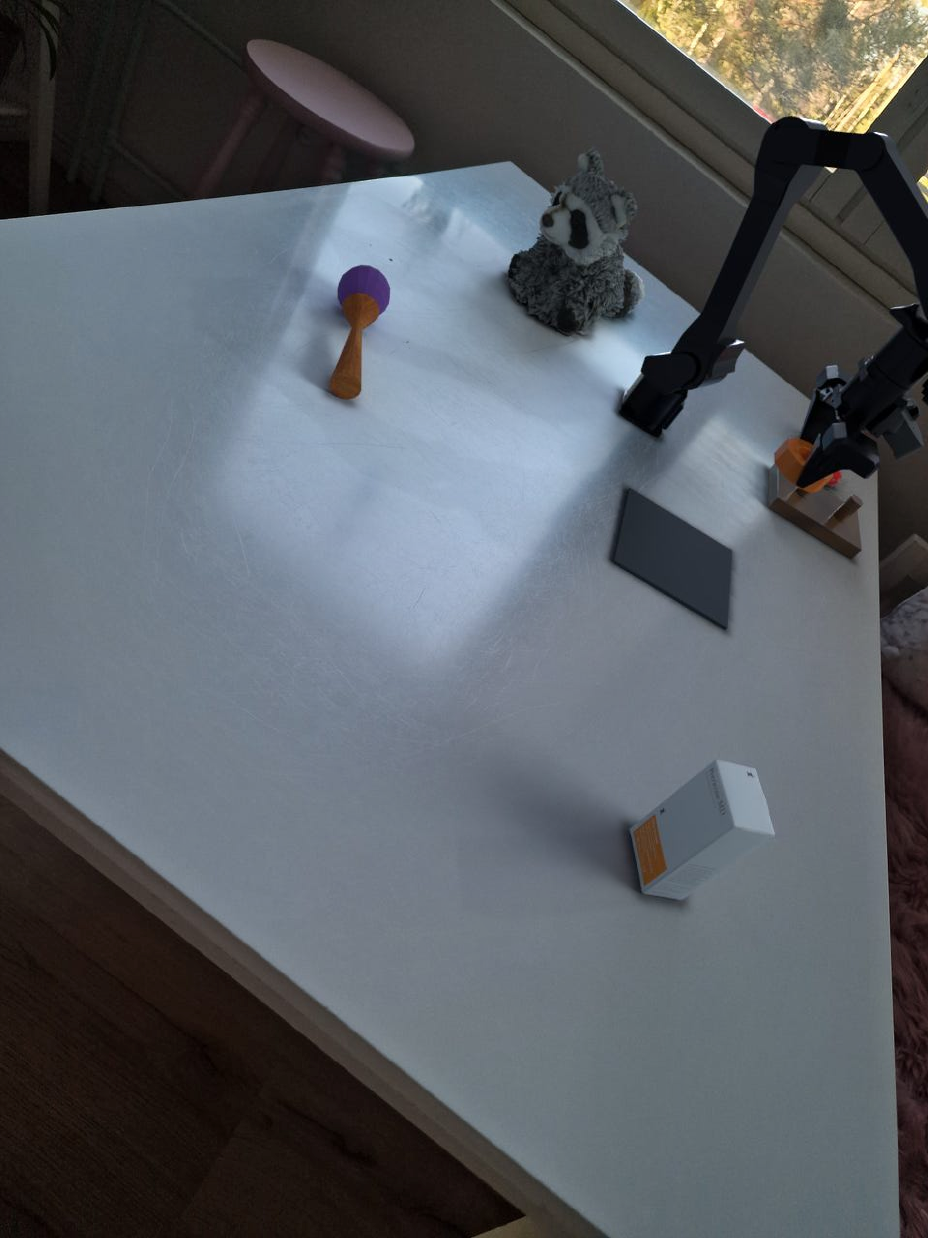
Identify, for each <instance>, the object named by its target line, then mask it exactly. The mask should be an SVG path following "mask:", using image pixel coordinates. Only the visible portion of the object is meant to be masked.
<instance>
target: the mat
mask: <svg viewBox="0 0 928 1238" xmlns="http://www.w3.org/2000/svg"><path fill="white" fill-rule="evenodd" d="M619 525H620V526H619V531H618V535H617V540H616V545H615V547H614V548H615V549H614V554H613V558H612V563H614V564H615V565H616V566H618V567H620V568H621V569H623V570H625V571H626V572H628V573H630V574H632V575H633V576H635V577H636V578H638V579H640V580H642V582H645V583H646V584H648V585H650V586H651V587H653V588H655V589H657V591H660V592H661V593H663V594H665V595H667V597H670V598H672V599H673V600H674V601H677V603H679V604H682V605H683V606H685V607H686V608H688V609H690V610H691V611H693V612H695V613H697V614H698V615H700V616H701V617H703V618H705V619H706V620H708V621H709V622H711V623H713V624H715V625H716V626H718V627H720V628H722V629H723V630H727V629H728V627H729V626H728V625H729V611H730V593H731V578H732V575H731V574H732V563H733V550H732V549H730V548H729V547H727V546H726V545H724V544H722V543H721V542H719V541H717V540H716V539H714V538H712V537H711V536H709V535H708V534H706V533H705V532H703V531H701V530H700V529H698V528H696V527H694V526H693V525H691V524H690V523H688V522H686V521H685V520H684V519H682V518H680V517H678V516H677V515H675V514H673V513H672V512H670V511H669V510H667V509H665V508H664V507H662V506H660V505H659V504H657V503H656V502H654V501H652V500H651V499H649V498H648V497H646V496H645V495H643V494H641V493H639V492H638V491H636V490H635V489H633V488H631V487H629V488H628V490H627V494H626V497H625V502H624V508H623V512H622V516H621V521H620V524H619Z"/></svg>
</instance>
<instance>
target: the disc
mask: <svg viewBox="0 0 928 1238" xmlns="http://www.w3.org/2000/svg"><path fill="white" fill-rule="evenodd" d="M812 447H813V445H811V444H810V443H809V442H806V441H804V440H802V439H799V437H798V436H794V437H790V438H787V439H785V441H784V442H783V443H781V445H780V446H779V447H778V448H777V450H775V452H774V453H773V461H774V463H773V464H776V465H777V467H778V468H779V470H780V471H781V473H782V474H783V476H784V477H786V478H787V479H788V480H789V481H790V482H792V483H793V484H794V485H795V486H797V485H796V481H797V479H798V477H799V474H800V472H801V470H802V468H803V466H804V464H805V462H806V460H807V458H808V455H809V453H810V451H811V449H812ZM832 478H833V474H831V475H829V476H827V477H825V478H823V479H821V480H819V481H817V482H815V483H813V484H811V485H809V486H808V487H806V488H803V490H805V491H807V492H810V493H813V492H816V491H819V490H821V489H822V488H823V489H824V487H825V486H827V485H826V484H827V483H828V482H829V481H830V480H831V479H832ZM797 487H798V488H800V487H799V486H797ZM800 489H802V488H800Z"/></svg>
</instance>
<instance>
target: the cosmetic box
mask: <svg viewBox="0 0 928 1238" xmlns="http://www.w3.org/2000/svg"><path fill="white" fill-rule="evenodd" d="M771 819H772V818H771V817H770V812H769V806H768V802H767V799H766V795H765V794H764V792H763V789H762V786H761V783H760V779H759V776H758V773H757V769H756V768H754V767H751V766H746V765H742V764H738V763H735V762H730V761H726V760H721V759H714V760H713V761H712V762H710V763H709V764H707V765H706V766H705V767H704V768H703V769H701V771H699V772H698V773H697V774H696V775H694V776H693V777H691V778H690V779H689V780H688V781H687V782H686V783H684V784H683V785H682V786H681V787H679V788H678V789H677V790H676V791H675V792H673V793H672V794H671V795H670V796H668V797H667V798H666V799H664V800H663V801H662V802H661V803H660V804H659V805H658V806H656V807H654V808H653V809H652V810H651V811H649V812H648V813H647V814H645V815H644V817H642V818H641V819H640V820H639V821H638V822H636V823H635V824H634V825H632V826H631V827H630V829H629V833H630V837H631V841H632V847H633V851H634V856H635V862H636V866H637V874H638V878H639V884H640V890H641V893H642V894H643V895H648V896H655V897H661V898H666V899H672V900H678V901H683V900H685V899H686V898H688V897H689V896H690V895H692V894H693V893H695V892H696V891H697V890H699V889H700V888H702V887H703V886H705V885H706V884H707V883H709V882H710V881H712V880H713V879H715V878H716V877H718V876H719V875H720V874H721V873H723V872H725V871H726V870H728V869H729V868H731V867H732V866H733V865H735V864H736V863H738V862H739V861H741V860H742V859H743V858H744V857H746V856H747V855H750V854H751V853H752V852H754V851H756V849H758V848H759V847H761V846H762V845H764V844H765V843H767V842H768V841H770V840H771V839H773V838H775V836H776V833H775V830H774V826H773V823H772V820H771Z"/></svg>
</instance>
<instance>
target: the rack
mask: <svg viewBox="0 0 928 1238" xmlns="http://www.w3.org/2000/svg"><path fill="white" fill-rule="evenodd" d="M767 491H768V493H767V495H768V497H767V499H768V501H767V507H768V508H769V510H772V511H773V512H775V513H777V514H778V515H780V516H781V517H783V518H784V519H786V520H788V521H789V522H790V523H792V524H794V525H796V526H797V527H799V528H800V529H802V530H803V531H805V532H806V533H808V534H810V535H811V536H813V537H814V538H816V539H817V540H819V541H821V542H822V543H824V544H825V545H827V546H829V547H830V548H832V549H834V550H835V551H837V552H839V553H840V554H842V555H843V556H845V557H846V558H848V559H849V560H853V559H854V558H855V557H856V556H857V555H858V554H859V553H861V552H862V550H863V549H862V540H861V531H860V521H859V512H858V510H859V509H861V507H862V506H864V502H863V500H862V499H861V498H860V497H859V495H857V494H851V495H850V496H849V497H848V498H846V500H845V501H843V500H842V499H841V498H838V497H837V496H836V495H834V494H833V493H831V492H829V491H828V490H826V489H825V488H824V487H823V488H822V489H821V490H819V491H816V492H813V493H810V492H807V491H805V490H803V489H800V488H798V487H797V486H795V485H794V484H793V483H792V482H790V481H789V480H788V479H787V478H786V477H784V476H783V474H782V473H781V471H780V470H779V468H778V467H777V465H776V464H775V463H773V465H771V466H770V467H769V469H768V489H767Z"/></svg>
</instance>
